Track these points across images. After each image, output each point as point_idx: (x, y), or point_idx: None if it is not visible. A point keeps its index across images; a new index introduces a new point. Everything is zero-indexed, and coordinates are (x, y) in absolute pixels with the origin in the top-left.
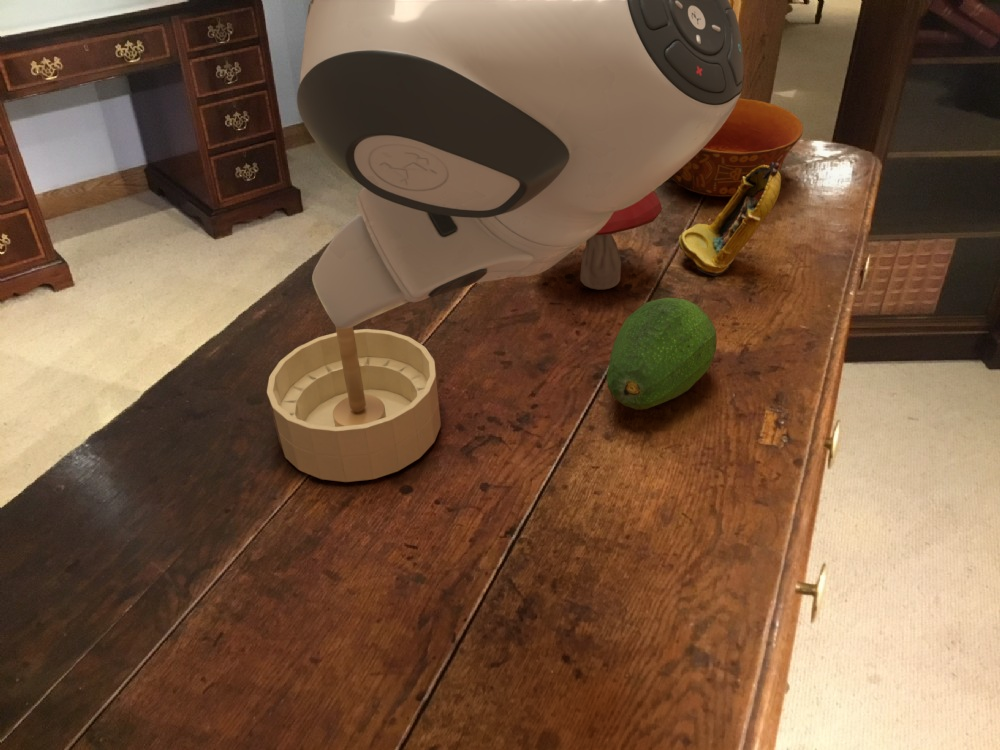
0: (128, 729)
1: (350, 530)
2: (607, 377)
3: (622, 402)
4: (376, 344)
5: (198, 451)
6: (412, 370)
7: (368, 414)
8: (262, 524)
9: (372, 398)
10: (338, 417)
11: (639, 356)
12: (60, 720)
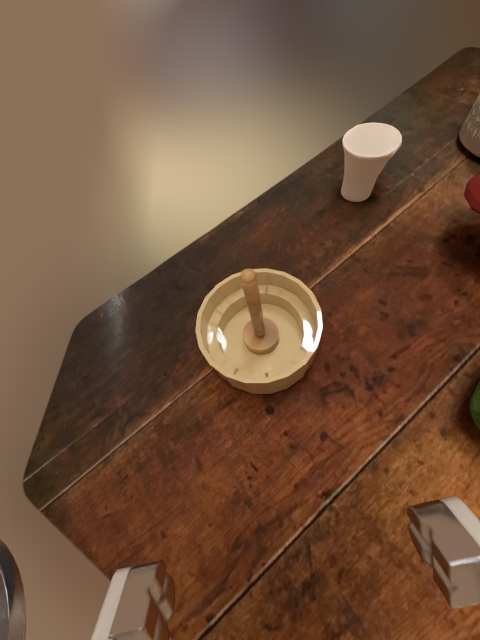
0: (62, 520)
1: (223, 429)
2: (475, 399)
3: (478, 428)
4: (288, 284)
5: (168, 317)
6: (307, 313)
7: (265, 340)
8: (178, 395)
9: (273, 325)
10: (245, 334)
11: None
12: (40, 490)
